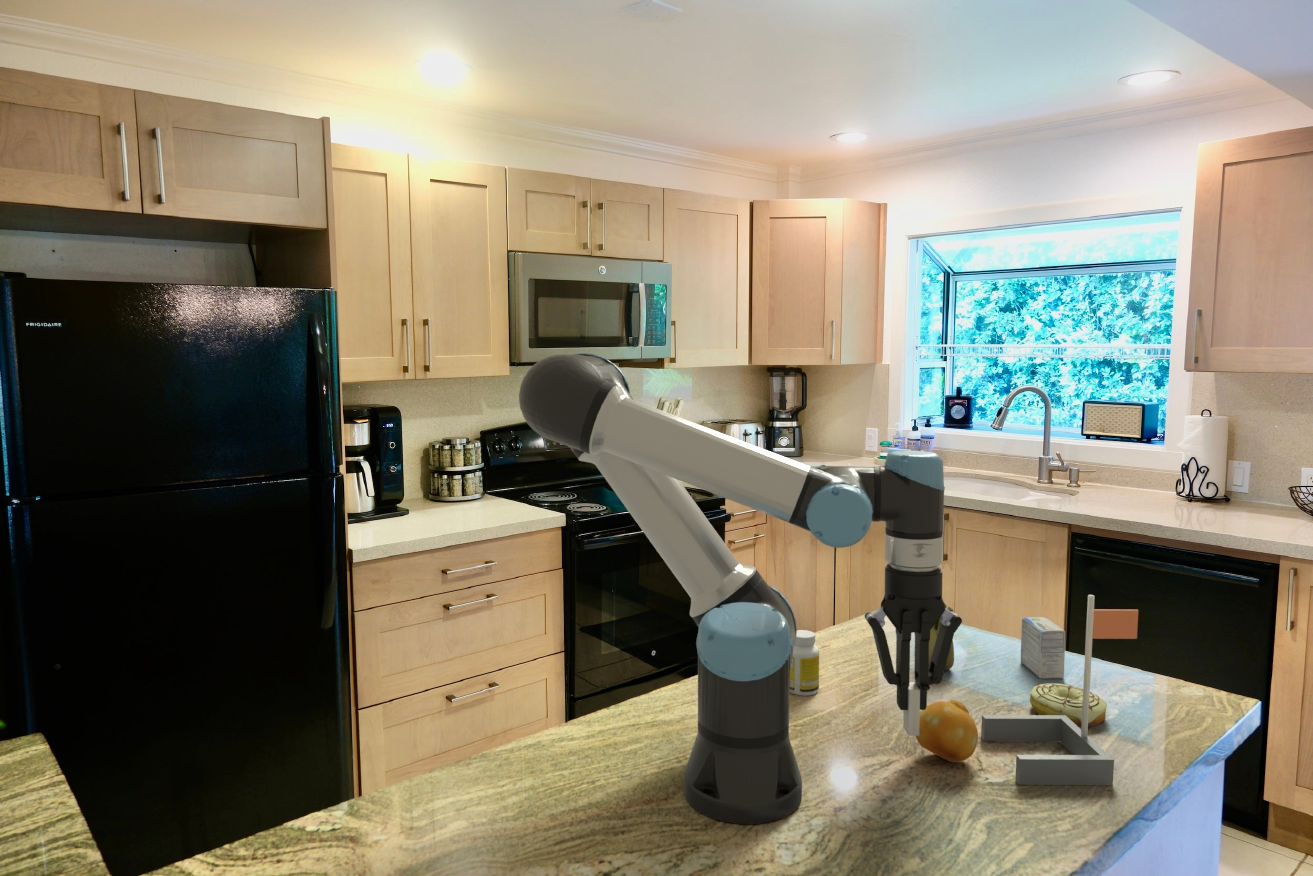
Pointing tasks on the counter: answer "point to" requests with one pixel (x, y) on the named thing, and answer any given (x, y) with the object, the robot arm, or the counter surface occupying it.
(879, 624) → the robot arm
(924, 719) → the fruit
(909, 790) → the counter surface
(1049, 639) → the medicine box
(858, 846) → the counter surface
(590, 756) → the counter surface
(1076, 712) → the decorated donut
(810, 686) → the supplement bottle
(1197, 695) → the counter surface
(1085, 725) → the flagpole corner frame
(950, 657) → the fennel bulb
